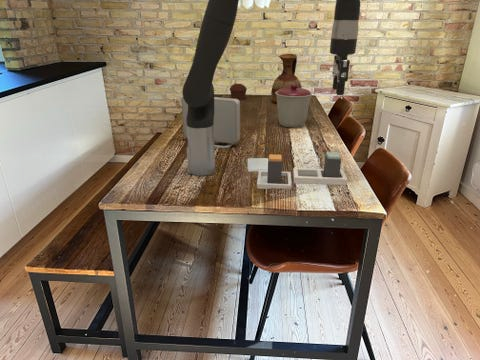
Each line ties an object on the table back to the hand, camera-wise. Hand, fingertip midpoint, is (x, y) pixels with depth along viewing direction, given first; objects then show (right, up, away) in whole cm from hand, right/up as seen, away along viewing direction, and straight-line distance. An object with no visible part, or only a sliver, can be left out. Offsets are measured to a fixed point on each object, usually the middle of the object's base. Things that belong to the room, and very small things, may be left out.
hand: (337, 92), depth 112 cm
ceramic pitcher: (-1, +22, +117) cm, 119 cm away
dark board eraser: (0, -28, +7) cm, 29 cm away
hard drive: (-24, -24, +20) cm, 39 cm away
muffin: (-32, +26, +126) cm, 133 cm away
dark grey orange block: (-19, -28, +6) cm, 35 cm away
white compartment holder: (-4, -28, +8) cm, 30 cm away
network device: (-43, -12, +45) cm, 63 cm away
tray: (-19, -29, +7) cm, 36 cm away
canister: (-4, 0, +70) cm, 70 cm away
